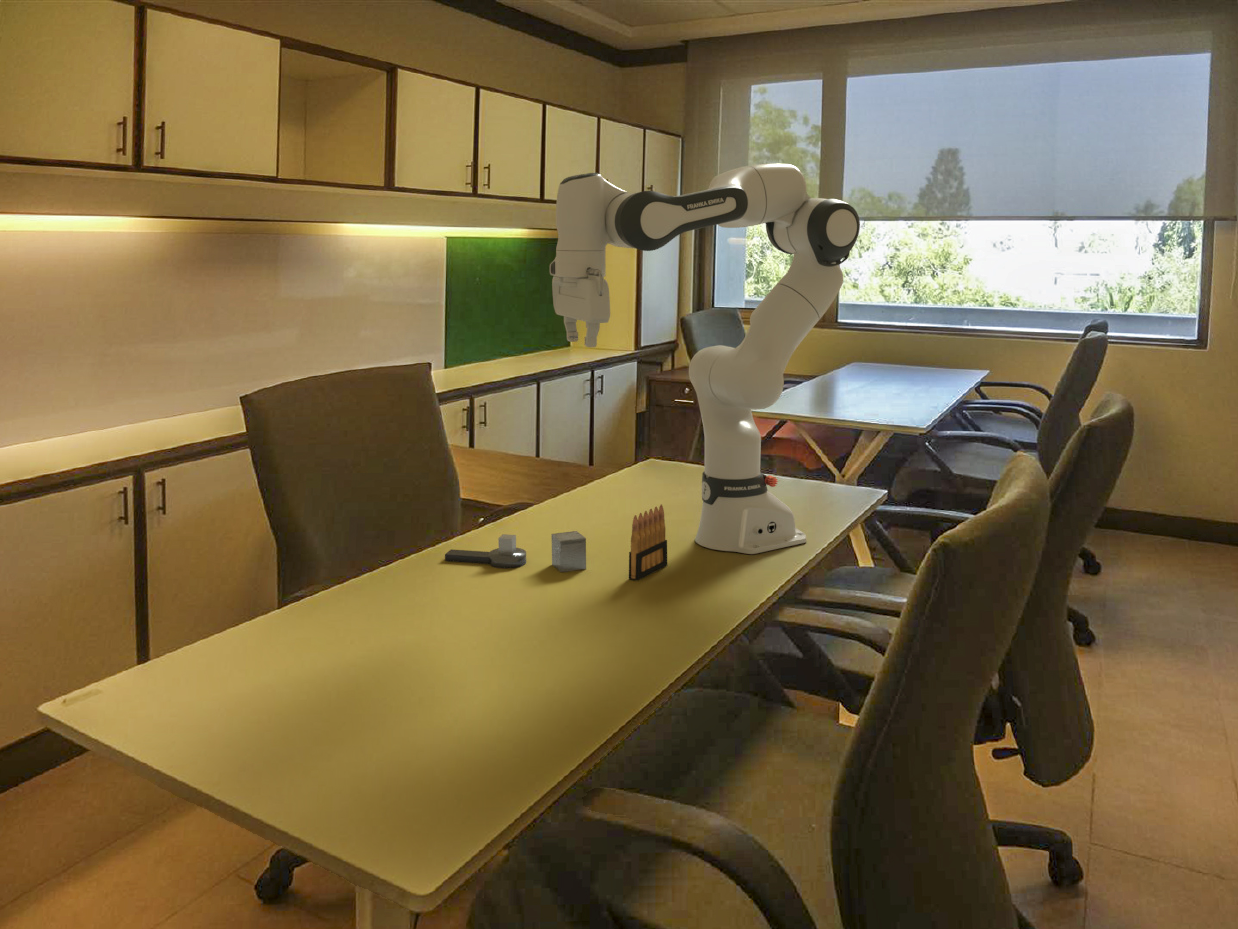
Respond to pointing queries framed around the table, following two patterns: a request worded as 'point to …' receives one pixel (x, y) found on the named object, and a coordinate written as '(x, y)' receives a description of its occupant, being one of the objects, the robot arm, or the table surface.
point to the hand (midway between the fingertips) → (581, 344)
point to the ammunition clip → (647, 544)
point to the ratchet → (492, 555)
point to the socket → (568, 551)
